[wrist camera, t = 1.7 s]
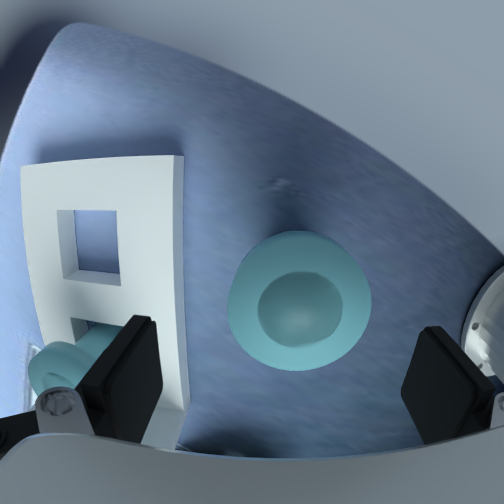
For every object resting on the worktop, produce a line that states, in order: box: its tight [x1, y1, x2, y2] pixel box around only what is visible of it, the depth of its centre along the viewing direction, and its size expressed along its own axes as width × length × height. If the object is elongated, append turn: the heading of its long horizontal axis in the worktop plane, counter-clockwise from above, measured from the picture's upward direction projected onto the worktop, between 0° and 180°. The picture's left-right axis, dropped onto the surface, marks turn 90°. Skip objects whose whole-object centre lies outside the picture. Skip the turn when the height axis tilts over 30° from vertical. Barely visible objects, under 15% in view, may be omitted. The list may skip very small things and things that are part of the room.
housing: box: [21, 155, 191, 450], centre depth 21 cm, size 14×22×8 cm, turn 177°
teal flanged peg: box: [28, 322, 124, 396], centre depth 22 cm, size 7×7×9 cm
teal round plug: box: [227, 231, 371, 371], centre depth 19 cm, size 7×7×9 cm
